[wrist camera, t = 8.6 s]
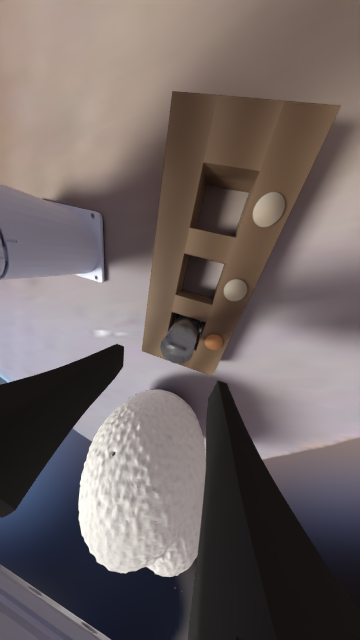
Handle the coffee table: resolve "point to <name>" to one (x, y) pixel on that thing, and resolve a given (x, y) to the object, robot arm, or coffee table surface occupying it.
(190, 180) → the pin board
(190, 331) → the pin
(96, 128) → the coffee table surface
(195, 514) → the white textured round lump
